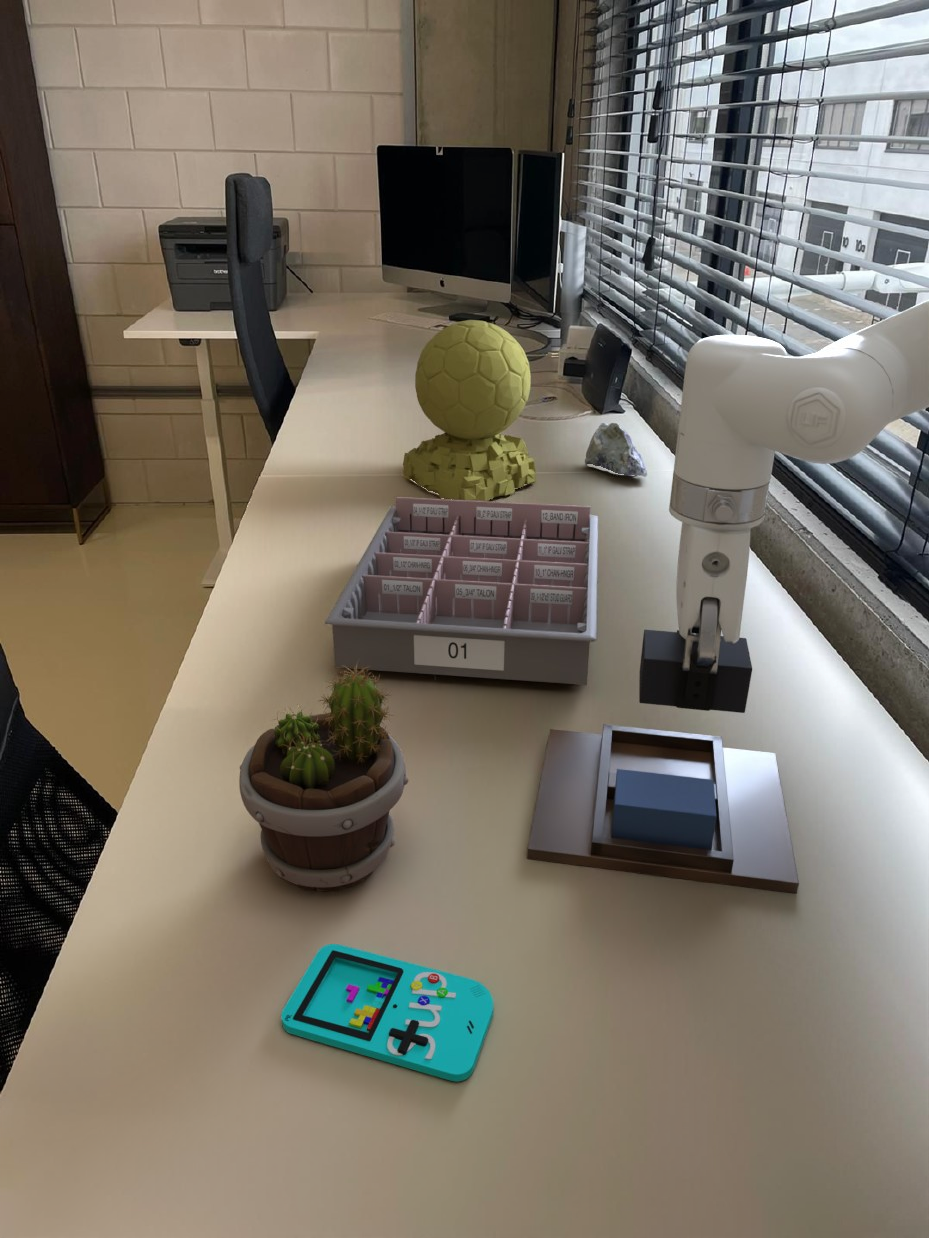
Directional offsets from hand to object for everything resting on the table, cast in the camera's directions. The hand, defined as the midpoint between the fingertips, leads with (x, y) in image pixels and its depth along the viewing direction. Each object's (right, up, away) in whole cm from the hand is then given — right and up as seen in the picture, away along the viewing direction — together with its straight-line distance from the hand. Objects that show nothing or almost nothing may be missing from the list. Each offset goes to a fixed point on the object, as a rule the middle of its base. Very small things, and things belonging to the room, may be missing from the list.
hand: (691, 686), depth 84 cm
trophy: (-19, +32, +97) cm, 104 cm away
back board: (-1, -13, +10) cm, 16 cm away
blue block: (-2, -14, +5) cm, 15 cm away
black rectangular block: (0, 0, 0) cm, 0 cm away
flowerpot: (-33, -16, +3) cm, 37 cm away
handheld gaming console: (-26, -24, -12) cm, 37 cm away
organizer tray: (-18, +6, +47) cm, 51 cm away
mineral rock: (+9, +34, +101) cm, 107 cm away
